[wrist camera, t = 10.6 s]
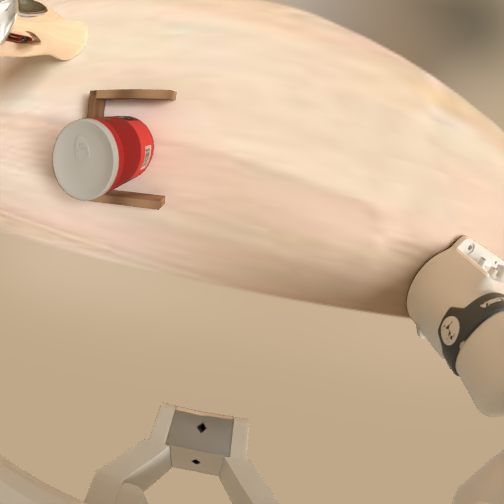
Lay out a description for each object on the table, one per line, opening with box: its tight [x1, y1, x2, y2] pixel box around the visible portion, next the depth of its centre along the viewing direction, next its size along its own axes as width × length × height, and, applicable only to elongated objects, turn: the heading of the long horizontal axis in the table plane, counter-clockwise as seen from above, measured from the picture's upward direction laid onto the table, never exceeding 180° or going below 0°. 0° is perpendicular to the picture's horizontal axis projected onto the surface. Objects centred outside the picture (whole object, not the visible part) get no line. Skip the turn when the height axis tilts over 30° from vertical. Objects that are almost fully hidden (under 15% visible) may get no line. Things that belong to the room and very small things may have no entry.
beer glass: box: [0, 0, 88, 61], centre depth 20 cm, size 7×7×15 cm
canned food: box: [53, 116, 154, 201], centre depth 28 cm, size 8×8×11 cm
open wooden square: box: [87, 89, 176, 210], centre depth 32 cm, size 10×14×2 cm
